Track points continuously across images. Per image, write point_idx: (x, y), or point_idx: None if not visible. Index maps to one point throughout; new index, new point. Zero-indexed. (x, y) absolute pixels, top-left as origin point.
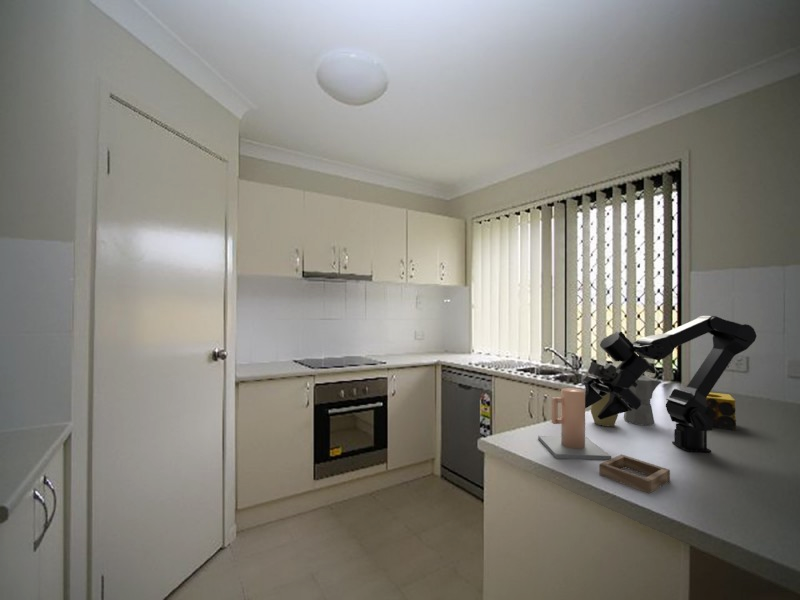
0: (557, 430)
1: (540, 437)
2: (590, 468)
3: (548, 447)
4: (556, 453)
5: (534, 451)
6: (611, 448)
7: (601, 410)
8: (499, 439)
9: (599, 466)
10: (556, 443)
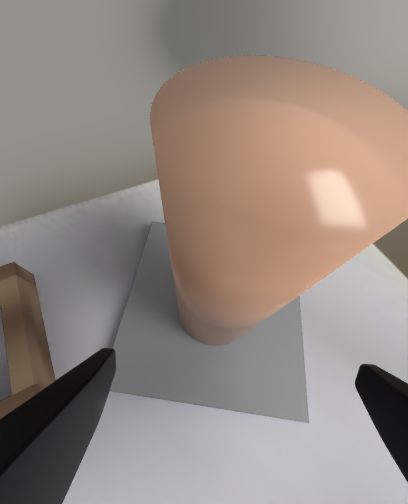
0: (398, 355)
1: None
2: (73, 275)
3: None
4: (156, 224)
5: None
6: (209, 488)
7: (80, 386)
8: None
9: (18, 265)
10: None
